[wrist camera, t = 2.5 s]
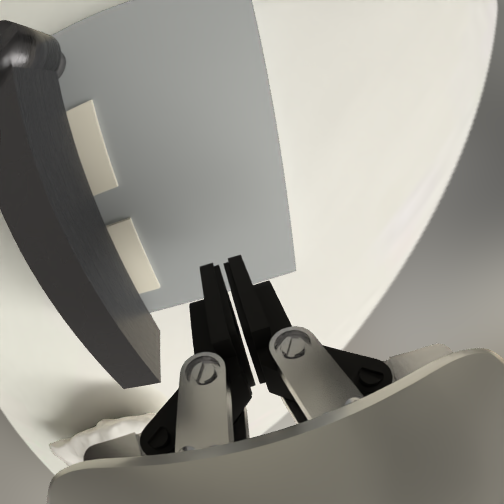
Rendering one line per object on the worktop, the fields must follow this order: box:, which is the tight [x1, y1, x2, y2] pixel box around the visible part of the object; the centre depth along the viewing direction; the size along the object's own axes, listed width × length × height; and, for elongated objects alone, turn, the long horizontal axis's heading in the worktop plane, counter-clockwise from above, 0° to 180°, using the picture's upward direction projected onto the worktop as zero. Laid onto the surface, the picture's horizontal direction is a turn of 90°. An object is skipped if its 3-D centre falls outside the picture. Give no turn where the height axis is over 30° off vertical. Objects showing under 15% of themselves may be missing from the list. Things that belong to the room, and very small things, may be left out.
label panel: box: [52, 0, 296, 313], centre depth 13 cm, size 19×16×3 cm
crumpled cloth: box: [49, 413, 156, 466], centre depth 27 cm, size 24×35×9 cm
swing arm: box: [0, 20, 161, 389], centre depth 10 cm, size 19×3×4 cm, turn 10°
